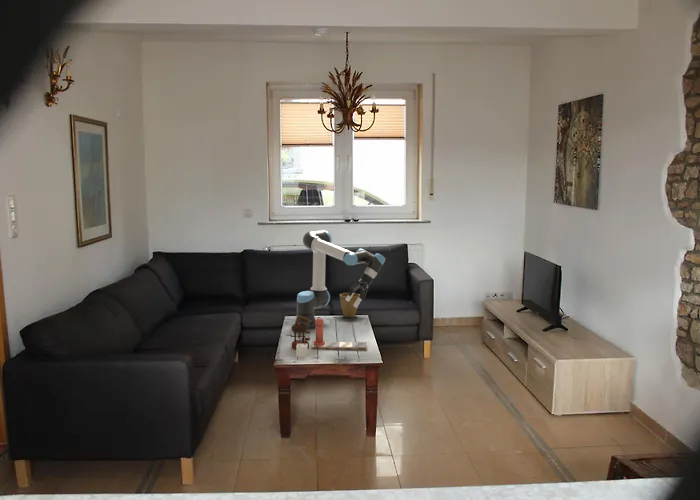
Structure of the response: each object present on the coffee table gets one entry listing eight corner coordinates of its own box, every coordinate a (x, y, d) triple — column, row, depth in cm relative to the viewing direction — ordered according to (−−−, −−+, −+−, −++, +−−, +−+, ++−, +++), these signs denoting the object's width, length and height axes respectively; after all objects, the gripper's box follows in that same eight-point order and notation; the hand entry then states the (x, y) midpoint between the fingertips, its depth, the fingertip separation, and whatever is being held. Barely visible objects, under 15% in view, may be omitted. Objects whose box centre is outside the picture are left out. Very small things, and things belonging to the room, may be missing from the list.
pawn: (313, 345, 354) (313, 319, 352) (313, 342, 361) (314, 316, 359) (324, 345, 354) (325, 319, 352) (325, 342, 361) (325, 316, 359)
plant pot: (353, 319, 424) (354, 297, 422) (335, 316, 431) (336, 295, 429) (363, 315, 437) (363, 294, 435) (345, 312, 444) (345, 291, 442)
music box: (311, 344, 362) (311, 313, 357) (311, 351, 351) (312, 319, 347) (286, 345, 360) (286, 313, 356) (285, 352, 350) (285, 319, 345)
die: (296, 356, 338) (296, 346, 337) (297, 353, 344) (297, 343, 343) (306, 356, 338) (306, 346, 337) (307, 353, 344) (307, 343, 343)
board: (311, 349, 352) (311, 347, 352) (312, 343, 364) (312, 341, 364) (366, 350, 352) (366, 347, 352) (366, 344, 364) (366, 341, 364)
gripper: (366, 271, 367) (348, 300, 364) (379, 284, 388) (362, 312, 386) (357, 266, 371) (338, 295, 368) (370, 279, 392) (353, 306, 389)
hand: (350, 303), depth 377 cm, fingers open, 13 cm apart
